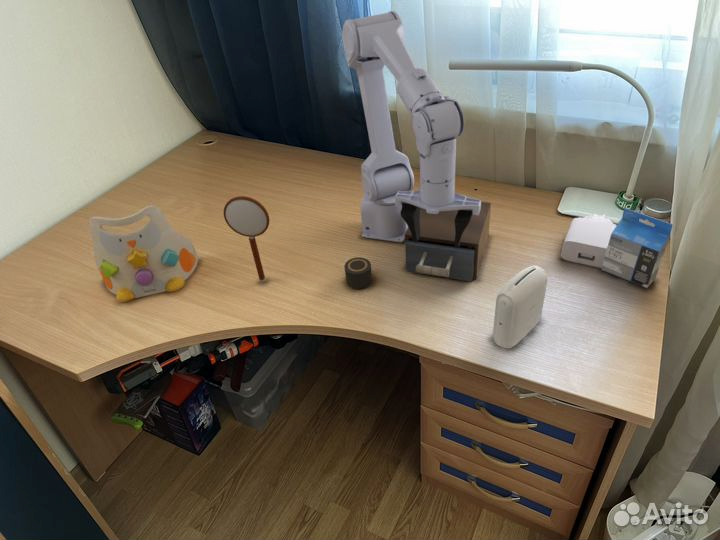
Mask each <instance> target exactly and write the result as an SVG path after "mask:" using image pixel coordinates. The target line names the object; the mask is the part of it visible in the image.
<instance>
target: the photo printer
mask: <svg viewBox="0 0 720 540" xmlns="http://www.w3.org/2000/svg"><path fill="white" fill-rule="evenodd" d="M548 279H549V277H548V274H547V271H546V270H545V269H544V267H540V266H538V265H537V264H533V265H530V266H527V267H525V268H523V269H521V270H520V271H518V272H517V273H516V274H515V275H513V276H512V277H511V278H510V279H509V280H508V281H507V282H506V283H505V284H504V285H503V286H502V288H501V289H500V290H499V291H498V294H497V295H496V298H495V309H494V319H493V328H492V339H493V340H494V342H495V344H496V345H498V346H499V347H501V348H504V349H511V348H513V347H515V346H516V345H517V344H519V342H520V341H522V340H523V339H524V338H525V337H526V336H527V335H528V334H529V333H530V332H531V331H532V330H533V329H534V328H535V327H536V326H537V325H538V324H539V322H540V320H541V318H542V314H543V309H544V303H545V299H546V291H547V285H548V282H549V281H548Z"/></svg>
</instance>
